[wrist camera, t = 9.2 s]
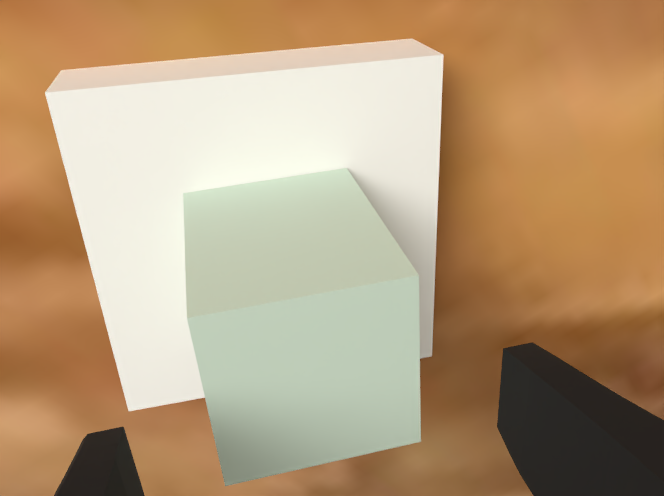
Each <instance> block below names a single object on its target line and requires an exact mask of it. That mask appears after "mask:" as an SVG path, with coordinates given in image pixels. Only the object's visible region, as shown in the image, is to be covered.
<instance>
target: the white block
mask: <svg viewBox="0 0 664 496" xmlns="http://www.w3.org/2000/svg"><path fill="white" fill-rule="evenodd" d="M442 80H443V54H441V53H439V52H437V51H435V50H433V49H431V48H429V47H428V46H426V45H424V44H422V43H420V42H418V41H416V40H414V39H402V40H391V41H380V42H369V43H358V44H347V45H336V46H325V47H314V48H303V49H292V50H281V51H269V52H258V53H247V54H236V55H225V56H214V57H203V58H192V59H181V60H170V61H159V62H148V63H137V64H126V65H114V66H103V67H92V68H81V69H70V70H61V71H60V73H59V74H58V75H57V77H56V78H55V80H54V81H53V82H52V84H51V85H50V87H49V88H48V89H47V91H46V92H45V94H46V98H47V102H48V106H49V109H50V113H51V117H52V121H53V125H54V128H55V132H56V136H57V140H58V144H59V148H60V151H61V155H62V159H63V163H64V167H65V170H66V174H67V178H68V182H69V186H70V189H71V193H72V197H73V201H74V205H75V208H76V212H77V216H78V220H79V224H80V228H81V231H82V235H83V239H84V243H85V247H86V250H87V254H88V258H89V262H90V266H91V269H92V273H93V277H94V281H95V285H96V289H97V292H98V296H99V300H100V304H101V308H102V311H103V315H104V319H105V323H106V327H107V330H108V334H109V338H110V342H111V346H112V350H113V353H114V357H115V361H116V365H117V369H118V372H119V376H120V380H121V384H122V388H123V391H124V395H125V399H126V403H127V407H128V410H129V411H133V410H139V409H144V408H150V407H155V406H161V405H166V404H172V403H177V402H183V401H188V400H194V399H199V398H205V395H204V391H203V386H202V382H201V378H200V373H199V369H198V364H197V360H196V356H195V351H194V347H193V343H192V338H191V334H190V330H189V325H188V321H187V305H186V271H185V237H184V203H183V193H189V192H195V191H201V190H208V189H214V188H221V187H227V186H234V185H240V184H247V183H253V182H260V181H266V180H273V179H279V178H285V177H292V176H298V175H305V174H311V173H318V172H324V171H331V170H337V169H344V168H347V169H348V170H349V172H350V173H351V175H352V176H353V178H354V179H355V181H356V182H357V184H358V185H359V187H360V188H361V190H362V191H363V193H364V194H365V196H366V197H367V199H368V200H369V202H370V203H371V205H372V206H373V208H374V209H375V211H376V212H377V214H378V215H379V217H380V218H381V220H382V221H383V223H384V224H385V226H386V227H387V229H388V230H389V231H390V233H391V234H392V236H393V237H394V239H395V240H396V242H397V243H398V245H399V246H400V248H401V249H402V251H403V252H404V254H405V255H406V257H407V258H408V260H409V261H410V263H411V264H412V266H413V267H414V269H415V270H416V272H417V273H418V275H419V327H420V358H425V357H431V356H432V342H433V316H434V290H435V263H436V237H437V211H438V185H439V158H440V132H441V106H442Z"/></svg>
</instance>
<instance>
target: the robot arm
mask: <svg viewBox="0 0 664 496" xmlns="http://www.w3.org/2000/svg"><path fill="white" fill-rule="evenodd" d="M497 427H498V430H499V432H500V434H501V436H502V438H503V440H504V442H505V445H506V447H507V449H508V451H509V453H510V455H511V457H512V459H513V461H514V463H515V465H516V467H517V469H518V471H519V473H520V475H521V476H522V478H523V480H524V481H525V483H526V484H527V486H528V487H529V489H530V491H531V492H532V494H533V495H534V496H664V420H662V419H660V418H658V417H657V416H655V415H653V414H651V413H649V412H648V411H646V410H644V409H642V408H640V407H639V406H637V405H635V404H633V403H632V402H630V401H628V400H627V399H625V398H623V397H621V396H620V395H618V394H616V393H615V392H613V391H611V390H610V389H608V388H606V387H605V386H603V385H601V384H600V383H598V382H596V381H595V380H593V379H592V378H590V377H588V376H587V375H585V374H583V373H582V372H580V371H579V370H577V369H575V368H574V367H572V366H570V365H569V364H567V363H566V362H564V361H562V360H561V359H559V358H558V357H556V356H554V355H553V354H551V353H549V352H548V351H546V350H544V349H543V348H541V347H539V346H537V345H536V344H534V343H528V344H523V345H518V346H513V347H508V348H503V359H502V372H501V385H500V398H499V410H498V423H497ZM54 496H144V492H143V489H142V486H141V483H140V479H139V476H138V473H137V470H136V466H135V463H134V460H133V456H132V453H131V450H130V447H129V443H128V440H127V437H126V433H125V430H124V427H119V428H114V429H109V430H105V431H100V432H95V433H90V434H87V436H86V437H85V438H84V439H83V441H82V443H81V445H80V447H79V449H78V451H77V453H76V455H75V457H74V459H73V461H72V462H71V464H70V466H69V468H68V470H67V472H66V474H65V476H64V478H63V480H62V482H61V484H60V485H59V487H58V489H57V491H56V493H55V495H54Z"/></svg>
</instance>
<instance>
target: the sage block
mask: <svg viewBox="0 0 664 496" xmlns="http://www.w3.org/2000/svg"><path fill="white" fill-rule="evenodd" d="M183 203H184V237H185V271H186V305H187V321H188V325H189V330H190V334H191V338H192V343H193V347H194V351H195V356H196V360H197V364H198V369H199V373H200V378H201V382H202V386H203V391H204V395H205V399H206V404H207V408H208V413H209V417H210V421H211V426H212V430H213V434H214V439H215V443H216V447H217V452H218V456H219V461H220V465H221V469H222V474H223V478H224V482H225V486H228V485H232V484H237V483H241V482H245V481H250V480H254V479H259V478H263V477H267V476H272V475H276V474H281V473H285V472H289V471H294V470H298V469H303V468H307V467H311V466H316V465H320V464H325V463H329V462H333V461H338V460H342V459H347V458H351V457H356V456H360V455H364V454H369V453H373V452H378V451H382V450H386V449H391V448H395V447H400V446H404V445H408V444H413V443H417V442H421V418H420V327H419V275H418V273H417V272H416V270H415V269H414V267H413V266H412V264H411V263H410V261H409V260H408V258H407V257H406V255H405V254H404V252H403V251H402V249H401V248H400V246H399V245H398V243H397V242H396V240H395V239H394V237H393V236H392V234H391V233H390V231H389V230H388V229H387V227H386V226H385V224H384V223H383V221H382V220H381V218H380V217H379V215H378V214H377V212H376V211H375V209H374V208H373V206H372V205H371V203H370V202H369V200H368V199H367V197H366V196H365V194H364V193H363V191H362V190H361V188H360V187H359V185H358V184H357V182H356V181H355V179H354V178H353V176H352V175H351V173H350V172H349V170H348V169H347V168H344V169H337V170H331V171H324V172H318V173H311V174H305V175H298V176H292V177H285V178H279V179H273V180H266V181H260V182H253V183H247V184H240V185H234V186H227V187H221V188H214V189H208V190H201V191H195V192H189V193H183Z"/></svg>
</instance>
